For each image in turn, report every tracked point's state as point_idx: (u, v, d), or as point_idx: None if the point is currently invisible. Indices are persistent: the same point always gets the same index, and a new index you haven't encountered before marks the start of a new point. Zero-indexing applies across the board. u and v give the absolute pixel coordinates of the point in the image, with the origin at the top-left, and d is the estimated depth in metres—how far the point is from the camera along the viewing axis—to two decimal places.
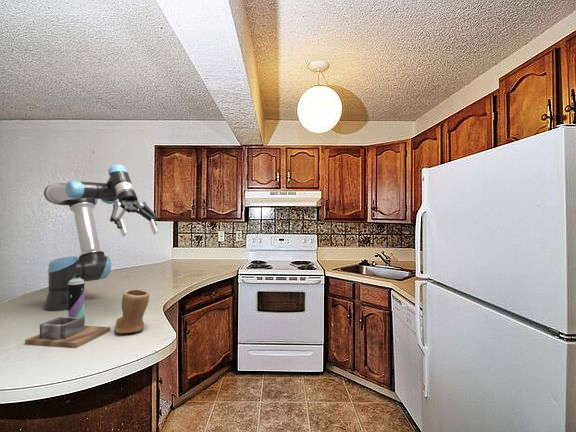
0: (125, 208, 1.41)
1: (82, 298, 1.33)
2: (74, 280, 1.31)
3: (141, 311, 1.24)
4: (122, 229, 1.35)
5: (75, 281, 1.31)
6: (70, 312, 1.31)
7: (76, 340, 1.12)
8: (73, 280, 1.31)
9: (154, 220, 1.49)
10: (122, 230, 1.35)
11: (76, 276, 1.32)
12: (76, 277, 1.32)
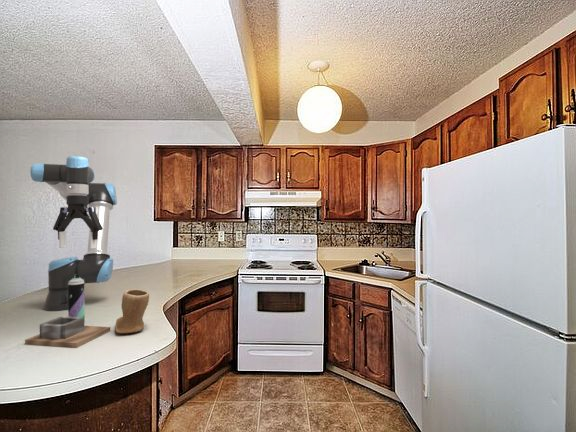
0: (66, 217, 1.32)
1: (82, 298, 1.33)
2: (74, 280, 1.31)
3: (141, 311, 1.24)
4: None
5: (75, 281, 1.31)
6: (70, 312, 1.31)
7: (76, 340, 1.12)
8: (73, 280, 1.31)
9: (94, 232, 1.32)
10: None
11: (76, 276, 1.32)
12: (76, 277, 1.32)
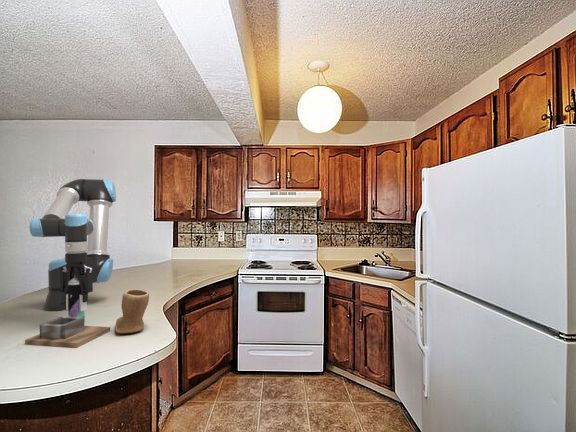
0: (68, 277, 1.32)
1: None
2: (74, 280, 1.31)
3: (141, 311, 1.24)
4: None
5: (75, 281, 1.31)
6: (70, 312, 1.31)
7: (76, 340, 1.12)
8: (73, 280, 1.31)
9: (84, 295, 1.32)
10: None
11: None
12: (76, 277, 1.32)
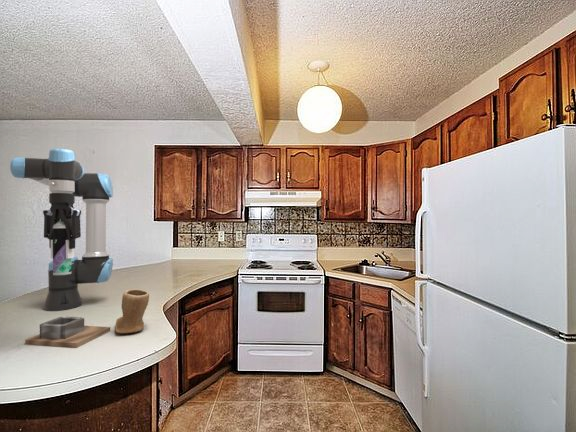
0: (52, 220, 1.17)
1: None
2: (59, 223, 1.16)
3: (141, 311, 1.24)
4: None
5: (61, 224, 1.16)
6: (55, 259, 1.16)
7: (76, 340, 1.12)
8: (58, 223, 1.16)
9: (71, 240, 1.17)
10: None
11: None
12: (62, 221, 1.17)
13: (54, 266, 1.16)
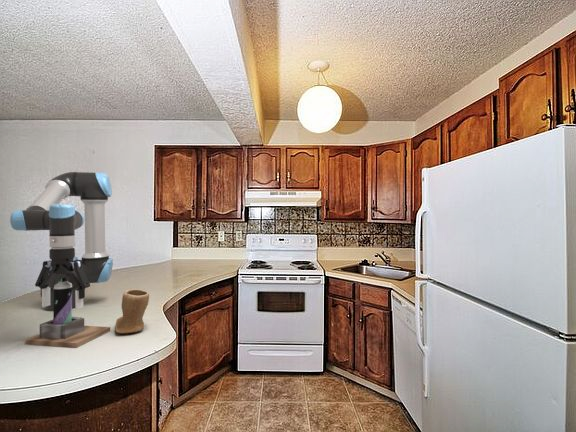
0: (50, 273, 1.17)
1: (69, 304, 1.18)
2: (60, 284, 1.16)
3: (141, 311, 1.24)
4: None
5: (62, 284, 1.16)
6: (55, 320, 1.16)
7: (76, 340, 1.12)
8: (59, 284, 1.16)
9: (80, 290, 1.16)
10: None
11: (63, 279, 1.18)
12: (63, 281, 1.17)
13: None
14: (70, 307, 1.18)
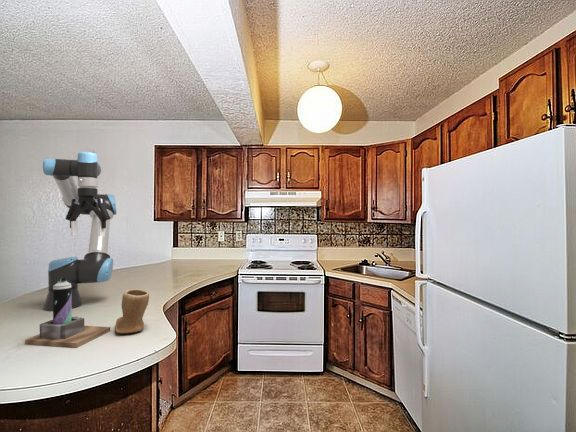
0: (77, 208, 1.45)
1: (69, 304, 1.18)
2: (59, 284, 1.16)
3: (141, 311, 1.24)
4: None
5: (61, 285, 1.16)
6: (55, 320, 1.16)
7: (76, 340, 1.12)
8: (58, 284, 1.16)
9: (103, 221, 1.44)
10: None
11: (62, 279, 1.17)
12: (62, 281, 1.17)
13: None
14: (70, 307, 1.18)
